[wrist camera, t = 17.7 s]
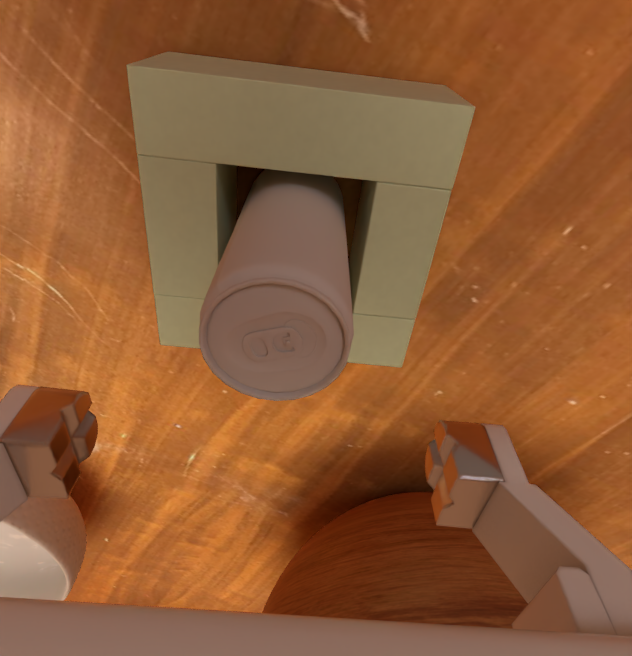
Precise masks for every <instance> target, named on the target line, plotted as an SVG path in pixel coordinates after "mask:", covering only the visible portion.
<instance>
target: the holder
mask: <svg viewBox="0 0 632 656" xmlns="http://www.w3.org/2000/svg"><path fill="white" fill-rule="evenodd" d="M127 75H128V83H129V91H130V100H131V108H132V117H133V125H134V133H135V142H136V150H137V154H138V155H137V158H138V167H139V175H140V183H141V192H142V200H143V208H144V217H145V225H146V234H147V242H148V250H149V259H150V267H151V275H152V284H153V292H154V298H155V307H156V315H157V323H158V332H159V340H160V345H167V346H177V347H188V348H199V349H200V346H199V326H200V311H201V308H202V305H203V303H204V300H205V297H206V294H207V292H208V289H209V287H210V285H211V282H212V280H213V277H214V275H215V272H216V270H217V268H218V265H219V263H220V261H221V258H222V256H223V254H224V251H225V249H226V247H227V244H228V242H229V240H230V238H231V235H232V233H233V231H234V228H235V226H236V223H237V166H244V167H253V168H262V169H271V170H280V171H289V172H298V173H307V174H316V175H324V176H333V177H342V178H351V179H360V180H362V185H361V192H360V198H359V204H358V210H357V216H356V222H355V228H354V234H353V240H352V246H351V252H350V259H349V276H350V288H351V301H352V313H353V327H354V336H353V340H352V343H351V348H350V352H349V356H348V360H347V362H348V363H359V364H369V365H380V366H391V367H402V365H403V362H404V358H405V355H406V351H407V347H408V344H409V340H410V337H411V333H412V330H413V326H414V323H415V318H416V316H417V312H418V309H419V305H420V302H421V298H422V294H423V291H424V287H425V284H426V280H427V277H428V273H429V270H430V266H431V263H432V259H433V255H434V252H435V248H436V245H437V241H438V238H439V234H440V231H441V227H442V224H443V220H444V216H445V213H446V209H447V206H448V202H449V199H450V195H451V190H452V189H453V185H454V182H455V178H456V175H457V171H458V168H459V164H460V161H461V157H462V154H463V150H464V146H465V143H466V139H467V136H468V132H469V129H470V125H471V122H472V118H473V115H474V111H475V106H473V105H472V104H470V103H469V102H468V101H466V100H465V99H464V98H462V97H461V96H459V95H458V94H457V93H455V92H454V91H452V90H451V89H450V88H448V87H447V86H445V85H438V84H430V83H422V82H414V81H406V80H398V79H389V78H381V77H373V76H365V75H357V74H348V73H340V72H332V71H324V70H316V69H308V68H299V67H291V66H283V65H275V64H267V63H259V62H250V61H242V60H234V59H226V58H218V57H210V56H201V55H193V54H185V53H177V52H169V51H168V52H165V53H162V54H159V55H156V56H153V57H149V58H146V59H143V60H140V61H137V62H134V63H131V64H128V65H127Z"/></svg>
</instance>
